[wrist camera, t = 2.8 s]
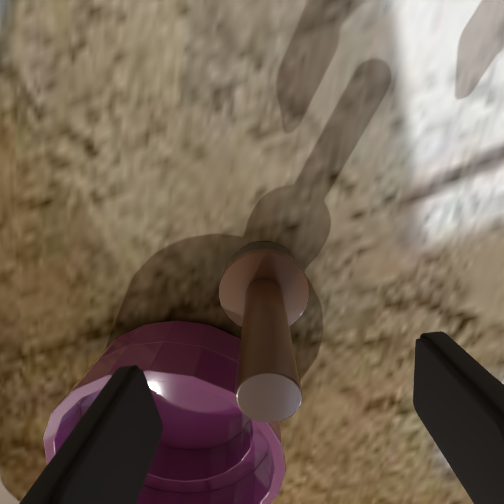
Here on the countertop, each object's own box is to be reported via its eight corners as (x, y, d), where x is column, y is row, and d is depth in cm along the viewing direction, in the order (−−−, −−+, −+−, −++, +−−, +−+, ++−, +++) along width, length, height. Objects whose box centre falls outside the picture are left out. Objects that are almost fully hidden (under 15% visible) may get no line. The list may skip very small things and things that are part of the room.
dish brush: (232, 312, 19) (206, 463, 9) (218, 244, 17) (167, 340, 8) (304, 303, 19) (355, 449, 9) (296, 232, 17) (349, 317, 7)
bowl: (129, 464, 24) (94, 545, 19) (68, 330, 20) (0, 387, 15) (288, 450, 23) (297, 531, 18) (263, 304, 19) (265, 356, 13)
